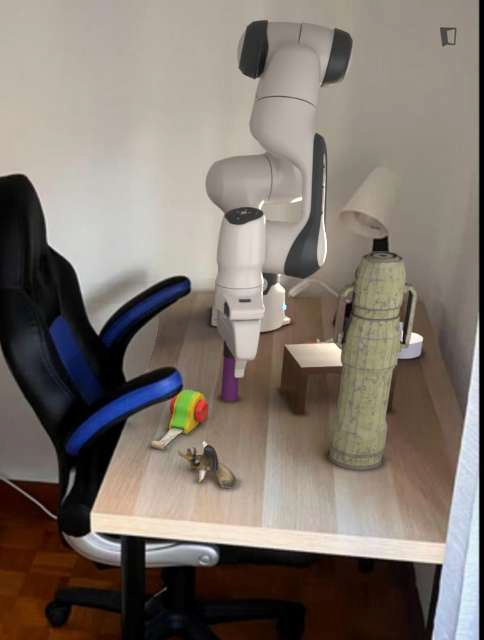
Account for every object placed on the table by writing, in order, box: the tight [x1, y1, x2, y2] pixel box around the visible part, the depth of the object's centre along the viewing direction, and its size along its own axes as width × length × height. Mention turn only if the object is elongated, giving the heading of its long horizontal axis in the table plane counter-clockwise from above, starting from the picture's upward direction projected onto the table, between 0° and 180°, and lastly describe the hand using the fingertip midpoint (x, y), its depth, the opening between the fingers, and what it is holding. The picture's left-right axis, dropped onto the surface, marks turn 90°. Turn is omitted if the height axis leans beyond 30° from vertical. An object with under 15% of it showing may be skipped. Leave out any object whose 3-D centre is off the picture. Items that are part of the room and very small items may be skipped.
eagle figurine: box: [176, 441, 237, 489], centre depth 161 cm, size 8×7×9 cm
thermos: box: [328, 250, 419, 471], centre depth 159 cm, size 9×12×35 cm
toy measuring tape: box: [150, 389, 209, 450], centre depth 178 cm, size 6×20×7 cm, turn 147°
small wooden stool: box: [279, 342, 399, 415], centre depth 188 cm, size 13×18×10 cm
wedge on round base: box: [398, 321, 424, 360], centre depth 213 cm, size 9×7×13 cm
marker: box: [220, 340, 240, 403], centre depth 190 cm, size 4×4×12 cm
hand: (233, 368), depth 189 cm, fingers open, 8 cm apart
